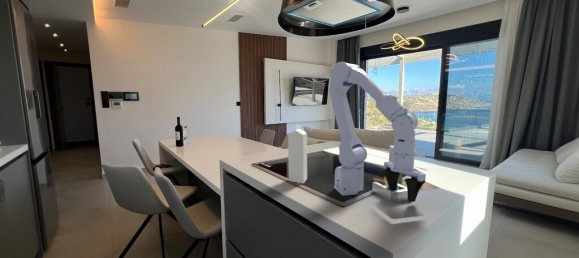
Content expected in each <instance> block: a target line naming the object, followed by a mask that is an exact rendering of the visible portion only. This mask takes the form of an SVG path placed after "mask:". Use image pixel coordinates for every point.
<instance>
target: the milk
mask: <svg viewBox="0 0 579 258" xmlns="http://www.w3.org/2000/svg"><path fill="white" fill-rule="evenodd" d="M294 128H295V130H294V131H292V132H290V133H288V134H287V142H288V143H287V145H288V146H287V147H288V148H287V149H288V182H289V181H294V182H297V183H296V184H304V183H305V182H306V181H307V180H308V135H307V134H308V133H307V132H306V131H305V130H303V129H301V127H300V124H298V125H295V127H294Z"/></svg>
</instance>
